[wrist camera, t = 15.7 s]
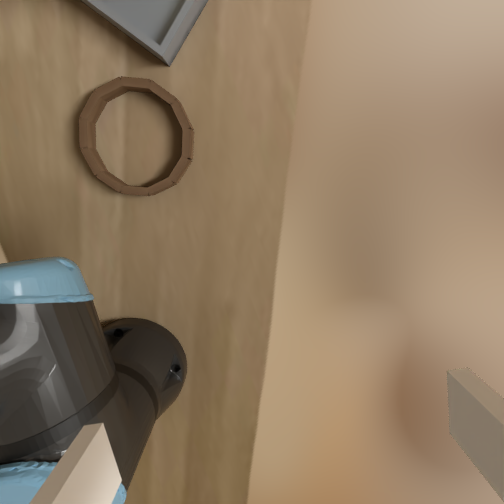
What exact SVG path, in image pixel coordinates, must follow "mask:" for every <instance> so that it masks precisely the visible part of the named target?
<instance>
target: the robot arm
mask: <svg viewBox="0 0 504 504" xmlns="http://www.w3.org/2000/svg"><path fill="white" fill-rule="evenodd" d="M93 299H94V297H93V295H92V294H90V292H89V290H88V288H87V286H86V283H85V281H84V279H83V276H82V274H81V271H80V269H79V267H78V266H77V265H76V264H75V263H74V262H73V261H71V260H69V259H67V258H64V257H47V258H38V259H30V260H23V261H16V262H9V263H2V264H0V504H124V502H125V499H126V495H127V494H126V492H127V490H128V487H129V485H130V482H131V480H132V477H133V475H134V472H135V470H136V467H137V465H138V463H139V460H140V458H141V455H142V453H143V450H144V448H145V445H146V443H147V441H148V438H149V436H150V433H151V431H152V428H153V426H154V423H155V421H156V420H157V419H158V418H159V417H160V416H161V415H162V414H163V413H164V411H165V410H166V409H167V408H168V407H169V406H170V405H171V404H172V403H173V402H174V401H175V400H176V398H177V397H178V395H179V393H180V391H181V389H182V387H183V384H184V381H185V378H186V373H187V360H186V356H185V353H184V350H183V348H182V346H181V344H180V343H179V341H178V340H177V339H176V338H175V336H174V335H173V334H172V333H170V332H169V331H168V330H167V329H165V328H164V327H162V326H160V325H158V324H156V323H154V322H151V321H148V320H144V319H136V318H129V319H122V320H118V321H115V322H112V323H110V324H108V325H106V326H105V327H103V328H102V327H101V324H100V321H99V318H98V315H97V312H96V309H95V306H94V303H93ZM447 385H448V407H449V429H450V434H451V435H452V437H453V438H454V439H455V441H456V442H457V443H458V445H459V446H460V447H461V448H462V450H463V451H464V452H465V453H466V455H467V456H468V457H469V458H470V459H471V461H472V462H473V464H474V465H475V466H476V467H477V468H478V470H479V471H480V472H481V474H482V475H483V476H484V477H485V479H486V480H487V481H488V483H489V484H490V485H491V486H492V488H493V489H494V490H495V491H496V493H497V494H498V495H499V497H500V498H501V499H502V500H503V502H504V398H503V397H502V396H501V395H500V394H498V393H497V392H496V391H495V390H494V389H493V388H491V387H490V386H489V385H488V384H486V383H485V382H484V381H483V380H482V379H481V378H480V377H478V376H477V375H476V374H475V373H474V372H473V371H471V370H470V369H469V368H461V369H455V370H448V371H447Z"/></svg>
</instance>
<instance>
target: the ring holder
mask: <svg viewBox="0 0 504 504" xmlns="http://www.w3.org/2000/svg"><path fill="white" fill-rule="evenodd" d="M94 91H95V93H94V92H92V94H91V96H90V97H89V99H88V101H87V103H86V105H85V107H84V109H83V110H82V112H81V114H80V116H79V117H81V118H82V119H79V143H80V148H83V149H81V152H82V154H83V156H84V158H85V159H86V161H87V163H88V165H89V167H90V168H91V170H92V172H93V174H94V176H96V177H97V178H98V179H100V180H101V181H103V182H104V183H106V184H107V185H108V186H110V187H111V188H113V189H114V190H116V191H117V192H119V193H121V194H133V195H144V196H151V195H156V194H158V193H160V192H162V191H164V190H166V189H168V188H170V187H172V186H174V185H176V184H177V183H179V181H180V180H181V178H182V176H183V175H184V173H185V172H186V170H187V169H188V167H189V165H190V164H191V162H192V161H191V160H190V159H193V143H194V131H193V127H192V125H191V123H190V121H189V119H188V117H187V115H186V113H185V111H184V109H183V106H182V104H181V103H180V102H179V101H178V100H177V98H176V97H174V96H173V95H171V94H170V93H169V92H167V91H166V90H165V89H163V88H162V87H161V86H159V85H158V84H156V83H155V82H154V81H152V80H150V79H142V78H132V77H121V78H120V77H118V78H116V79H114V80H112V81H110V82H108V83H106V84H105V85H103V86H101V87H99V88H97V89H95V90H94ZM127 91H136V92H146V93H154V94H155V95H157V96H158V97H160V98H161V99H162V100H164V101H165V102H166V103H168V104H169V105H171V106H172V109H173V111H174V113H175V115H176V117H177V119H178V121H179V123H180V125H181V127H182V129H183V134H182V156H181V158H180V160H179V161H178V163H177V164H176V166H175V168H174V169H173V171H172V172H171V174H170V176H169V177H168V178H166V179H164V180H162V181H160V182H158V183H156V184H154V185H152V186H150V187H140V186H129V185H127V184H126V183H124V182H123V181H121V180H120V179H118V178H117V177H115V176H114V175H112V174H111V173H109V172H108V170H107V169H106V167H105V165H104V163H103V161H102V159H101V158H100V156H99V154H98V152H97V150H96V131H95V124H96V122H97V120H98V118H99V116H100V114H101V113H102V111H103V109H104V107H105V105H106V104H107V102H109V101H111V100H112V99H114V98H116V97H118V96H120V95H122V94H124V93H126V92H127Z"/></svg>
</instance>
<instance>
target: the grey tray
mask: <svg viewBox="0 0 504 504" xmlns="http://www.w3.org/2000/svg"><path fill="white" fill-rule="evenodd" d="M81 1H82V2H84V3H85V4H86V5H88V6H89V7H90V8H92V9H93V10H94V11H96V12H97V13H98V14H100V15H101V16H102V17H104V18H105V19H106V20H108V21H109V22H111V23H112V24H113V25H115V26H116V27H117V28H119V29H120V30H121V31H123V32H124V33H125V34H127V35H128V36H129V37H131V38H132V39H133V40H135V41H136V42H137V43H139V44H140V45H141V46H143V47H144V48H145V49H147V50H148V51H149V52H151V53H152V54H153V55H155V56H156V57H157V58H159V59H160V60H161V61H163V62H164V63H165V64H167V65H168V66H169V67H170V65H171V63H172V62H173V60H174V58H175V57H176V55H177V53H178V51H179V50H180V48H181V46H182V44H183V43H184V41H185V39H186V38H187V36H188V34H189V32H190V31H191V29H192V27H193V26H194V24H195V22H196V20H197V19H198V17H199V15H200V13H201V12H202V10H203V8H204V7H205V5H206V3H207V1H208V0H81Z"/></svg>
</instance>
